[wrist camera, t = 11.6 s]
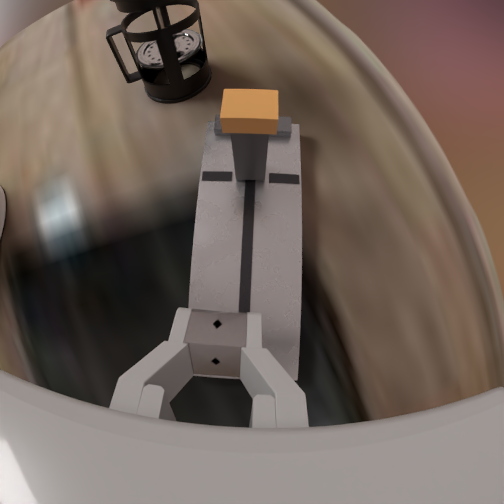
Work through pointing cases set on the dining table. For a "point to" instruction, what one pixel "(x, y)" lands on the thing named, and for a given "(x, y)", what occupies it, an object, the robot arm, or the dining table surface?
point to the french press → (163, 50)
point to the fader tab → (249, 128)
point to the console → (252, 240)
